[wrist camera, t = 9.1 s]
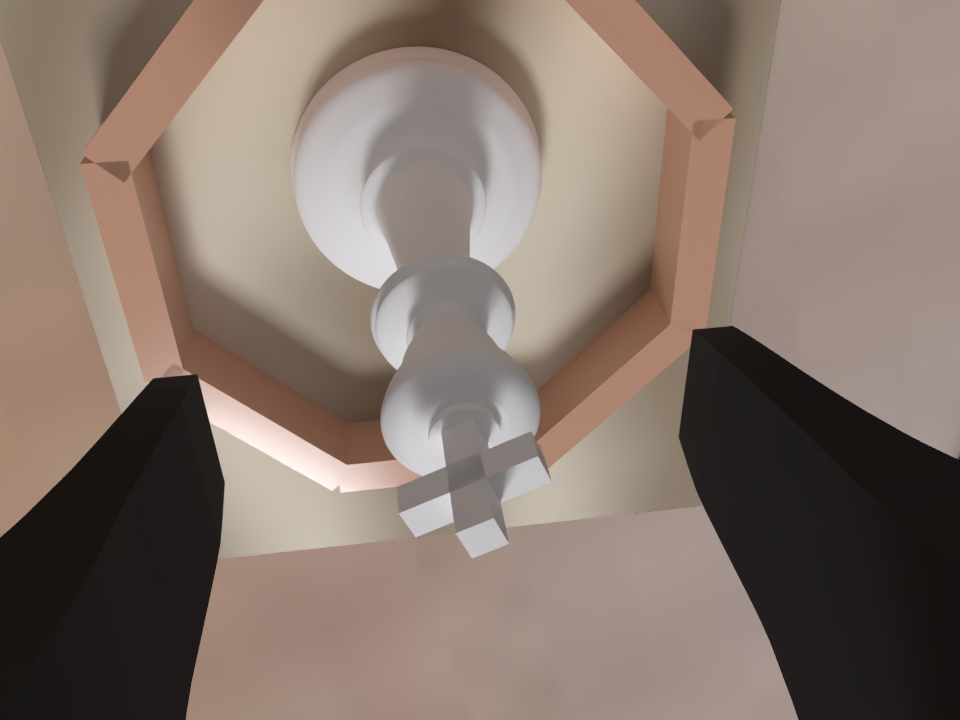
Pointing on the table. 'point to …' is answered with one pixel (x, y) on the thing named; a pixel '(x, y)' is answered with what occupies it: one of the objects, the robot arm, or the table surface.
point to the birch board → (348, 302)
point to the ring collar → (360, 445)
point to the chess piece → (433, 268)
